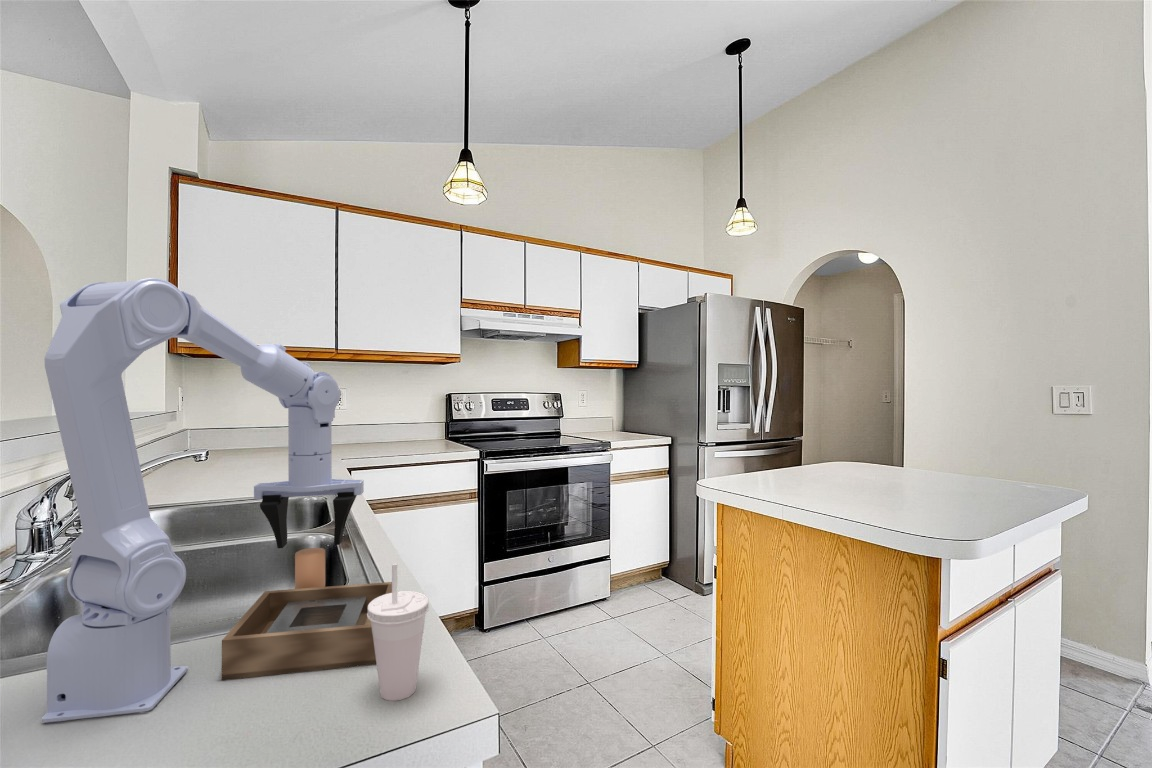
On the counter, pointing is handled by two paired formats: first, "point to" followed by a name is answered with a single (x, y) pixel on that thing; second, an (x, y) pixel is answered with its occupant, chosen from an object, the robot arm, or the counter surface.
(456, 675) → the counter surface
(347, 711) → the counter surface
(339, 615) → the socket plate
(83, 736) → the counter surface
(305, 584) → the peg
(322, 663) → the socket box
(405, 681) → the smoothie
